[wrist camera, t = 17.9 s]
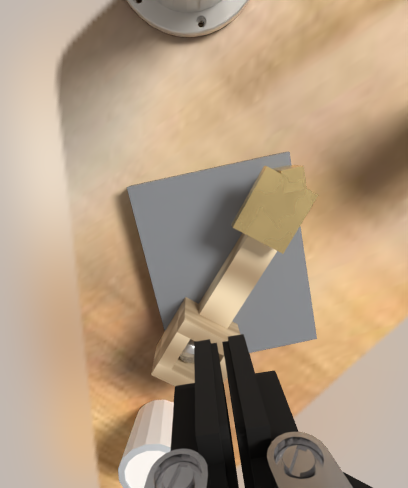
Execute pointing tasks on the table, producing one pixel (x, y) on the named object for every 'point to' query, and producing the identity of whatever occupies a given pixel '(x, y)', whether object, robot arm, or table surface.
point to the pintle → (188, 352)
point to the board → (220, 251)
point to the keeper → (275, 206)
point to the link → (211, 312)
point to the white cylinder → (146, 442)
